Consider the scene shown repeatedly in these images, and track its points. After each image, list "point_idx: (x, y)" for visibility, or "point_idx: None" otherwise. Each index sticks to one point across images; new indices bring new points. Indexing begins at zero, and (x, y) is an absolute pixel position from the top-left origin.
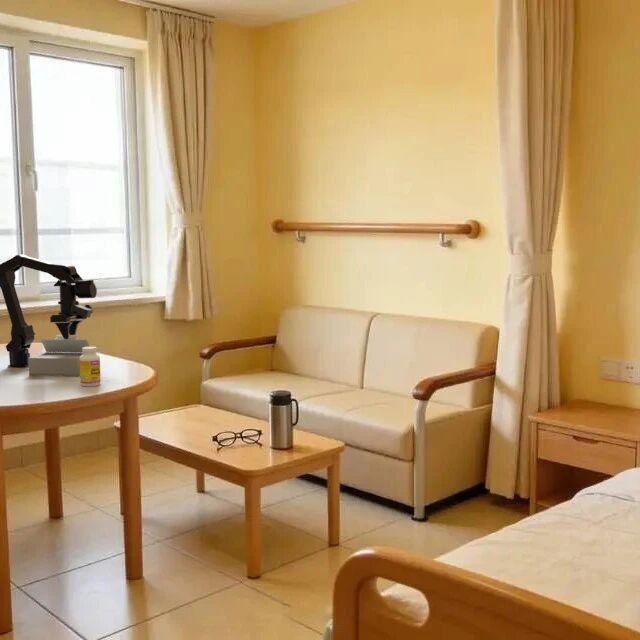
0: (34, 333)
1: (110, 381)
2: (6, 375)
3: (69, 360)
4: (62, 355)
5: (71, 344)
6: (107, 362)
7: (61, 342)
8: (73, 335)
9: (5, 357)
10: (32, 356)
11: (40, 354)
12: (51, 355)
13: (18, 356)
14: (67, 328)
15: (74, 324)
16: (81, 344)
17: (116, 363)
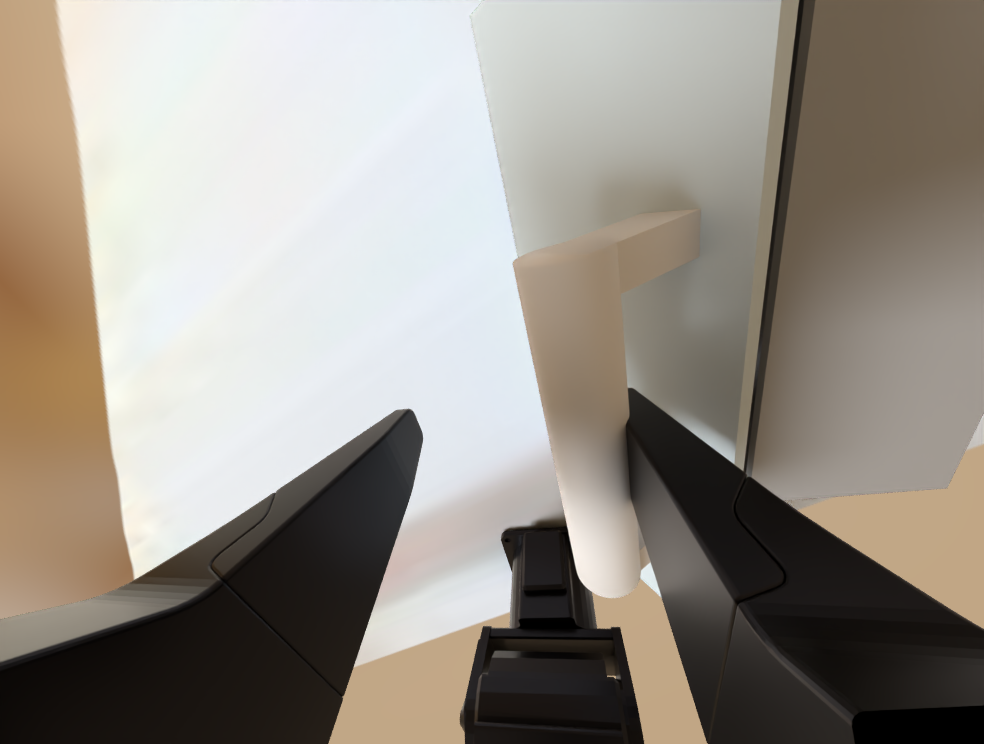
0: (478, 738)
1: None
2: (813, 500)
3: None
4: (818, 257)
5: (642, 289)
6: (218, 139)
7: None
8: (603, 345)
9: (415, 645)
10: (858, 491)
11: None
12: (809, 374)
13: (589, 599)
14: (895, 575)
15: (213, 655)
16: (636, 81)
17: (190, 2)
